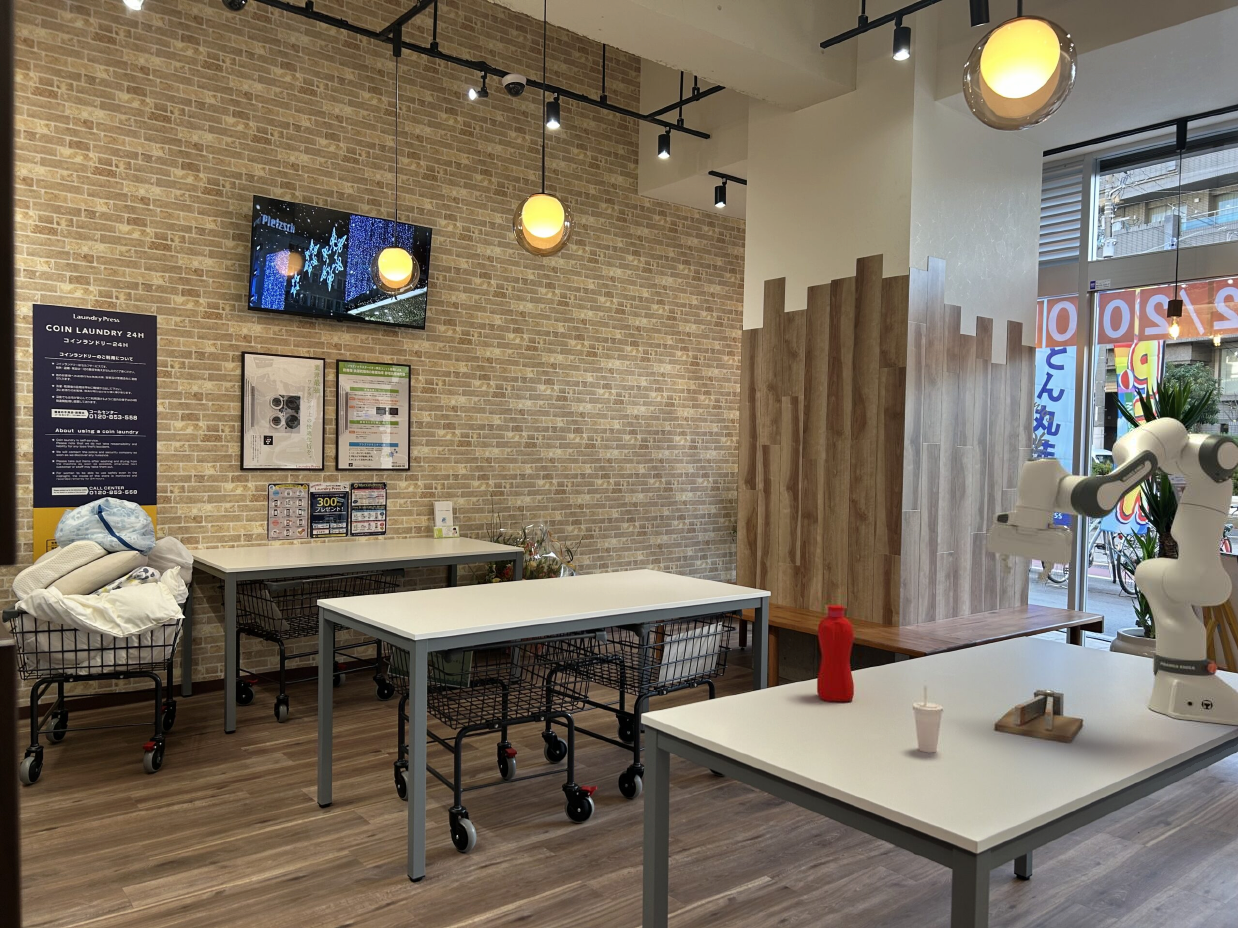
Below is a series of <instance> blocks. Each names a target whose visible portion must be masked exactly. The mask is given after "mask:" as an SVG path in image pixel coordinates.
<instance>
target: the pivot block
mask: <svg viewBox="0 0 1238 928" xmlns="http://www.w3.org/2000/svg"><path fill="white" fill-rule="evenodd" d="M1040 695H1042V696H1045V713H1046V706H1047V698H1048V697H1053V714H1054V715H1061V716H1064V698H1065V697H1064V693H1063V692H1055V690H1053V689H1043V690H1041V689H1037V690H1036V691H1034V693H1033V698H1035V697H1037V696H1040Z"/></svg>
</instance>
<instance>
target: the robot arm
mask: <svg viewBox="0 0 1238 928" xmlns="http://www.w3.org/2000/svg"><path fill="white" fill-rule="evenodd" d="M1111 455H1112V460H1113V463H1114V465H1115V467H1116V468H1115V469H1114V470H1112V471H1111V472H1110V473H1108V474H1105V475H1090V476H1088V475H1087V476H1086V475H1073V473H1071V472H1069V470H1067V469H1065V468H1064V466H1063V465H1062V464H1061V462H1060V459H1058V458H1057V457H1054V456H1053V457H1051V456H1043V457H1042V456H1032V457H1029V458H1027V459H1026V460H1025V462H1024V463H1023V466H1022V468H1021V472H1020V476H1019V480H1018V485H1017V493H1018V498H1017V501H1016V502H1015V506H1014V510H1011V511H1006V512H1001V513H995V514H994V515H993V522H994V524H992V526H991V527H990V530H989V533H988V537H987V542H986V548H987V550H988V552H989V553H996V554H999V556H998V559H999V561H1000V565H1001V573H1002V574H1007V575H1010V574H1011V572H1012V571H1011V570H1012V566H1009V563H1008V560H1010V556H1013V557H1018V558H1022V559H1023V558H1024V559H1029V560H1035V561H1040V562H1043V567H1044V569H1043V570H1042V571H1041V572H1038V573H1037V577H1036V579H1037V580H1038V581H1042V582H1047V581H1048V577H1049V574H1050V573H1051V572H1052V571H1053V569H1054V568H1055V564H1057V565H1062V566H1067V565H1069V564H1070V563H1071V560H1072V544H1073V543H1072V542H1073V539H1074V532H1073V530H1072V529H1071V528H1069V526H1066V525H1058V524H1053V522H1054V515H1055V512H1056V513H1058V514H1059V513H1060V514H1068V515H1073V516H1080V517H1081V516H1083V517H1087V518H1090V519H1091V518H1092V519H1104V518H1106V517H1107V516H1110V515H1111V514H1112V513H1113V511H1114V510H1115V509H1116V507H1118V505H1119V504H1120V502H1121V501H1122V500H1123V499H1124V498H1125V497H1127V495H1129V494H1131V492H1133V491H1134V490H1135V489H1137V488H1138V487H1139V486H1140V485H1142V484H1144V483H1145V481H1147V480H1148V479H1150V478H1151V477H1152V476H1153V475H1154V474H1155V473H1156V472H1157V473H1159V474H1163V475H1167V476H1177V477H1178V476H1179V477H1184V478H1185V487H1184V490H1183V492H1182V494H1181V497H1180V500H1179V503H1178V506H1177V509H1176V511H1175V515H1174V519H1173V520H1172V521H1173V522H1172V525H1171V529H1170V535H1171V537H1172V538H1173V540H1174V541H1175V542H1176V543H1177V546H1178V556H1177V557H1178V558H1169V557H1168V558H1167V557H1155V558H1147V559H1145V560H1143V561H1141V562H1140V563H1139V564H1138V565H1137V566H1136V569H1135V570H1134V582H1135V586H1136V588H1138V590H1139V591H1140V592H1142V593H1141V594H1143V595H1144V597H1145V599H1146V600H1147V603H1148V605H1149V607H1150V608H1149V609H1150V610H1151V614H1152V617H1153V621H1154V630H1155V631H1154V633H1155V636H1154V637H1155V652H1154V654H1153V658H1152V672H1153V676H1154V678H1153V679H1154V680H1153V686H1152V691H1151V694H1150V695H1151V696H1150V699H1149V703H1148V705H1147V706H1148V709H1150V710H1152V711H1154V712H1157V713H1159V714H1164V715H1167V716H1169V717H1171V718H1173V719H1177V720H1187V721H1193V722H1205V723H1213V724H1214V723H1215V724H1223V725H1229V726H1230V725H1232V726H1238V691H1237V690H1236V689H1235V688H1233V687H1232V686H1231V685H1229V683H1227V682H1225V681H1224V680H1223V679H1221V678H1220V677H1219V676H1217V674H1216V673H1217V671H1218V666H1217V664H1216V663H1215V661H1213V660H1210V659H1209V658H1207V629H1206V626H1205V625H1204V623H1202V622H1201V620H1200V619H1199V618H1198V617H1197V615H1196V614H1195V612H1194V609H1193V606H1195V607H1196V606H1197V607H1211V606H1213V607H1214V606H1220V605H1222V604H1224V603H1225V602H1226V601H1228V599H1229V598H1230V596H1231V594H1232V591H1233V583H1232V579H1231V576H1230V575H1229V574H1228V573H1227V571H1226V569H1225V568H1224V566H1223V563H1222V559H1221V542H1222V540H1223V539H1222V537H1223V535H1224V532H1225V531H1224V530H1225V528H1226V527H1225V526H1226V524H1227V521H1228V518H1229V513H1230V511H1231V505H1232V502H1233V501H1232V499H1233V492H1234V491H1233V490H1234V482H1233V480H1232V477H1233V476H1234V475H1235V472H1236V470H1238V443H1237V441H1236V440H1235V439H1234V438H1232V437H1230V436H1226V435H1223V434H1218V433H1214V434H1207V433H1188V431H1187V429H1186V427H1185V426H1184V424H1183V423H1182V422H1180V421H1179V420H1177V419H1176V418H1171V417H1161V418H1157V419H1153V420H1151V421H1149V422H1145V423H1144V424H1141V425H1139V426H1138V427H1136V428H1133V429H1132V430H1130V431H1128V432H1127V433H1125V434H1124V435H1122V436H1121V437H1120V438H1119V439H1117V441H1115V443H1114V444H1113V447H1112V451H1111Z"/></svg>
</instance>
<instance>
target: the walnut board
mask: <svg viewBox="0 0 1238 928" xmlns="http://www.w3.org/2000/svg"><path fill="white" fill-rule="evenodd" d="M1014 717H1015V707H1012V708H1011V709H1009V710H1008V711H1007V712H1006V713H1005V714H1004V715H1003V716H1001V718H999V719H998V720H997V721H996V722H995V723H994V731H997V732H1003V733H1008V734H1014V735H1019V736H1027V737H1033V738H1036V739H1037V738H1038V739H1043V740H1050V741H1056V742H1061V743H1067V744H1070V743H1071V742H1072V740H1073V739H1074V738H1075V736H1076V735H1077V733H1078V732H1079V731H1080V729H1081V728H1082V727H1083V725H1084V720H1083V718H1079V717H1073V716H1072V717H1071V716H1067V715H1063V716H1061V715H1054V714H1053V719H1052V730H1046V729H1045V717H1046V713H1043V714H1041V715H1039V716H1037V717H1035V718H1033V719H1031V720H1029V721H1027V722H1025V723H1023V724H1021V725H1017V724H1014Z"/></svg>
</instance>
